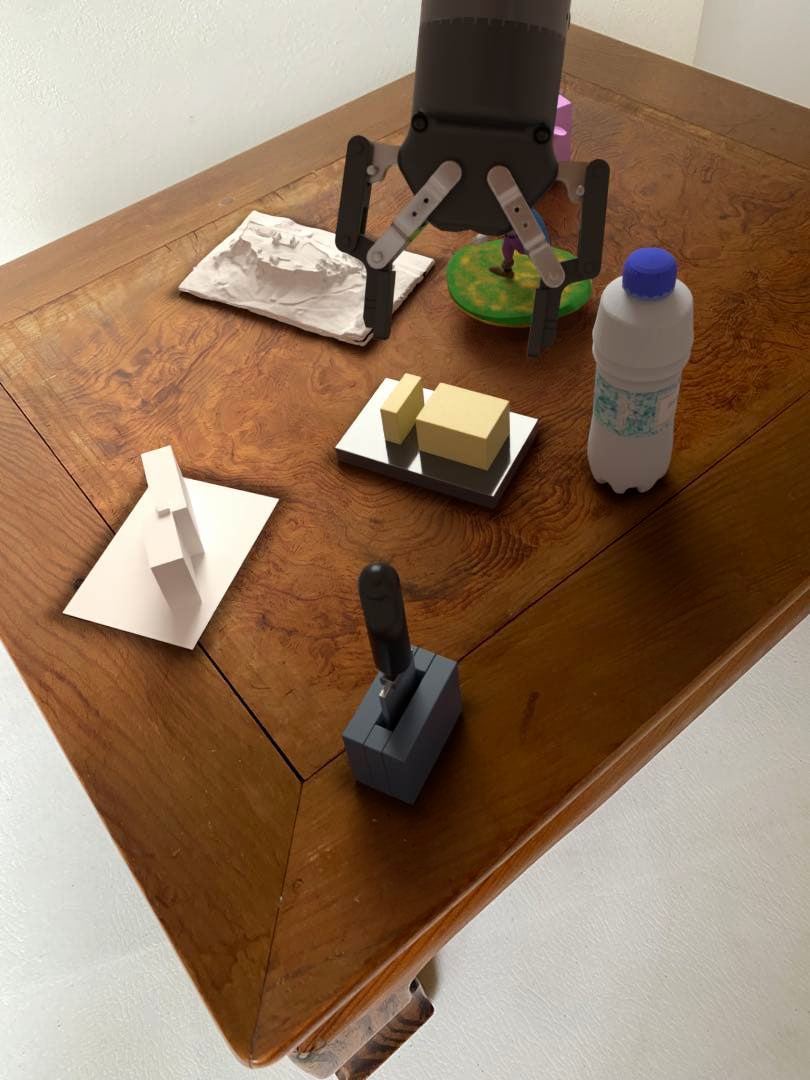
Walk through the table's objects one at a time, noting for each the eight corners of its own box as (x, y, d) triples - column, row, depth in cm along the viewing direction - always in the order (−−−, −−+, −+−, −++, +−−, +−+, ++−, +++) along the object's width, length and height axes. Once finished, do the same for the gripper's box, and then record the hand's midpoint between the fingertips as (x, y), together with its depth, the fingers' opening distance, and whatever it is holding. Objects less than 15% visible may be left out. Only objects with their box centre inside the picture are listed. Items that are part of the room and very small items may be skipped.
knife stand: (462, 709, 66) (458, 661, 61) (413, 805, 62) (403, 762, 57) (406, 687, 67) (397, 639, 63) (354, 780, 63) (340, 735, 59)
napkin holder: (156, 471, 82) (135, 422, 78) (280, 497, 79) (265, 447, 75) (61, 614, 74) (31, 568, 70) (194, 650, 71) (173, 604, 66)
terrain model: (382, 362, 90) (377, 318, 86) (164, 310, 96) (151, 267, 92) (446, 254, 99) (445, 210, 95) (243, 213, 105) (234, 170, 101)
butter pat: (425, 408, 82) (422, 376, 79) (400, 445, 80) (396, 413, 77) (409, 404, 83) (405, 372, 80) (384, 440, 80) (379, 408, 77)
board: (538, 432, 81) (538, 419, 80) (494, 509, 76) (493, 496, 75) (387, 390, 86) (385, 377, 85) (337, 460, 81) (334, 447, 80)
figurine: (617, 291, 92) (631, 139, 80) (545, 371, 86) (548, 219, 74) (492, 248, 98) (488, 100, 86) (416, 320, 92) (400, 172, 80)
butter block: (510, 432, 79) (509, 400, 77) (487, 471, 77) (486, 439, 74) (442, 413, 81) (440, 381, 79) (418, 450, 79) (414, 418, 76)
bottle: (659, 512, 75) (695, 295, 59) (573, 492, 77) (585, 278, 61) (679, 450, 78) (717, 231, 63) (595, 433, 80) (612, 217, 65)
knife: (436, 727, 65) (411, 550, 51) (412, 774, 63) (378, 603, 49) (407, 715, 66) (373, 538, 51) (382, 761, 64) (339, 589, 49)
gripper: (342, -2, 47) (318, 340, 52) (642, 23, 46) (588, 371, 51) (367, 29, 55) (343, 327, 60) (627, 52, 53) (581, 354, 58)
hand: (457, 347), depth 55 cm, fingers open, 8 cm apart
